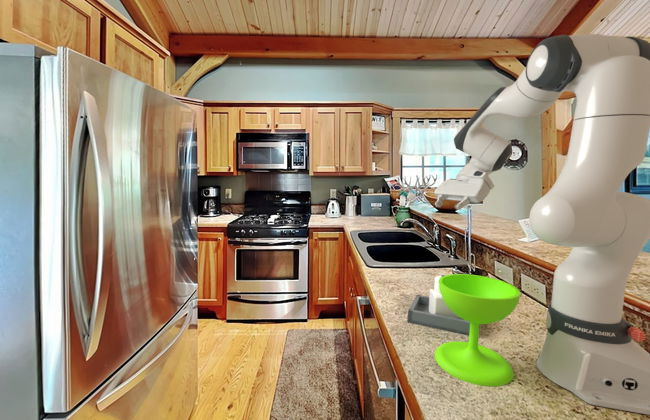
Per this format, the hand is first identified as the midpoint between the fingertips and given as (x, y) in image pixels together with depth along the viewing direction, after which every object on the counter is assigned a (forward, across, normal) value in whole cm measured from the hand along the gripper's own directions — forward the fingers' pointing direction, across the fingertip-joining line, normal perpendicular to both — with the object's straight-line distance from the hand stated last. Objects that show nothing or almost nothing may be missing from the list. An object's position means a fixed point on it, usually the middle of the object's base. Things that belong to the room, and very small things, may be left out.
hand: (446, 207), depth 106 cm
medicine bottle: (+31, +16, +12) cm, 37 cm away
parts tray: (+32, +16, +13) cm, 38 cm away
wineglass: (+38, +35, +6) cm, 53 cm away
